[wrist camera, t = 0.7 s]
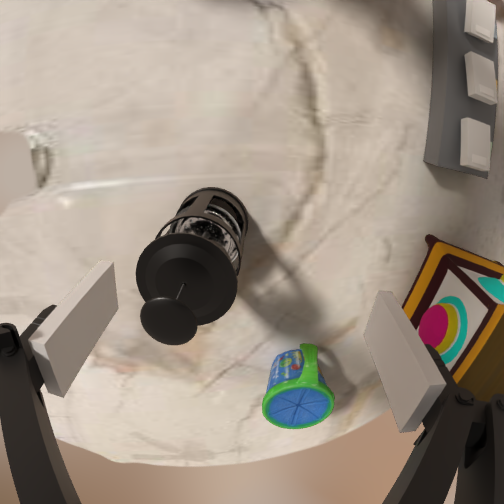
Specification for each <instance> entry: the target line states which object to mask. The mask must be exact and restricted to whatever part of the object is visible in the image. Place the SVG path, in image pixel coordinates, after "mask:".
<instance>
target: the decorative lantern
mask: <svg viewBox="0 0 504 504" xmlns="http://www.w3.org/2000/svg"><path fill="white" fill-rule="evenodd" d="M425 241H426V242H427V244H428V246H429V250H428V253H427V256H426V258H425V260H424V262H423V264H422V267H421V269H420V271H419V273H418V275H417V277H416V279H415V281H414V283H413V285H412V287H411V289H410V291H409V293H408V295H407V297H406V299H405V301H404V303H403V305H402V309H403V311H404V312H405V314H406V315H407V317H408V319H409V320H410V322H411V323H412V325H413V327H414V328H415V330H416V332H417V333H418V335H419V337H420V338H421V340H422V342H423V343H424V344H430V345H431V346H432V347H433V348H434V349H436V350H437V351H438V353H439V355H440V356H441V358H442V360H443V361H444V363H445V365H446V367H447V368H448V370H449V372H450V373H451V375H452V377H453V379H454V380H455V382H456V384H457V386H458V387H462V388H465V389H467V390H469V391H470V392H471V393H472V394H473V395H474V396H475V398H476V400H479V401H486V402H489V401H490V399H491V398H492V396H493V395H494V394H497V393H499V394H504V266H503V265H502V264H501V263H500V262H498V261H491V260H488V259H486V258H484V257H481V256H479V255H476V254H474V253H471V252H469V251H466V250H464V249H461V248H459V247H456V246H454V245H451V244H448V243H446V242H444V241H441V240H439V239H438V238H436V237H434V236H433V235H430V234H428V235H427V236H426V237H425Z"/></svg>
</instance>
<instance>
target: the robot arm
mask: <svg viewBox="0 0 504 504" xmlns="http://www.w3.org/2000/svg"><path fill="white" fill-rule="evenodd" d="M117 310H118V301H117V292H116V283H115V272H114V262H109V261H102V260H100V261H99V262H98V263H97V264H96V265H95V266H94V267H93V268H92V269H91V270H90V271H89V272H88V273H87V274H86V275H85V277H84V278H83V279H82V280H81V281H80V282H79V283H78V284H77V285H76V286H75V287H74V288H73V289H72V290H71V291H70V293H69V294H68V295H67V296H66V297H65V298H64V299H63V300H62V301H61V302H60V303H59V305H58V306H57V305H51V306H49V307H47V308H46V309H44V310H43V311H42V312H41V313H40V314H39V315H38V316H37V318H36V319H35V320H34V321H33V322H32V323H31V324H30V325H29V326H28V327H27V329H26V330H25V331H24V332H23V333H22V334H21V335H20V337H19V334H18V331H17V329H16V326H14V325H13V324H10V323H1V324H0V419H1V425H2V431H3V437H4V442H5V447H6V452H7V456H8V460H9V465H10V469H11V473H12V477H13V480H14V484H15V487H16V491H17V494H18V497H19V501H20V504H81V502H80V499H79V497H78V495H77V493H76V491H75V488H74V486H73V484H72V481H71V479H70V477H69V474H68V472H67V469H66V467H65V464H64V461H63V459H62V456H61V453H60V451H59V448H58V445H57V442H56V439H55V436H54V433H53V430H52V427H51V423H50V420H49V417H48V413H47V410H46V406H45V403H44V399H43V395H42V392H41V390H40V388H41V387H42V385H43V384H44V383H45V386H46V388H47V390H48V393H51V394H54V395H57V396H60V397H63V398H64V396H65V394H66V393H67V391H68V389H69V388H70V386H71V384H72V382H73V381H74V379H75V377H76V376H77V374H78V372H79V371H80V369H81V367H82V366H83V364H84V362H85V361H86V359H87V357H88V356H89V354H90V352H91V351H92V349H93V348H94V346H95V344H96V343H97V341H98V340H99V338H100V336H101V335H102V333H103V332H104V330H105V329H106V327H107V325H108V324H109V322H110V321H111V319H112V318H113V316H114V315H115V313H116V312H117ZM364 337H365V340H366V342H367V345H368V348H369V350H370V353H371V355H372V358H373V360H374V363H375V366H376V368H377V371H378V373H379V376H380V379H381V382H382V384H383V387H384V390H385V392H386V395H387V398H388V401H389V404H390V406H391V409H392V412H393V415H394V418H395V421H396V424H397V426H398V429H399V432H400V433H401V432H410V431H416V429H417V428H418V426H419V425H420V424H421V422H423V425H424V427H425V429H424V431H423V432H422V433H421V435H420V436H419V437H418V439H417V440H416V441H415V443H414V445H415V447H414V449H413V451H412V453H411V455H410V457H409V459H408V461H407V463H406V465H405V466H404V468H403V470H402V472H401V473H400V475H399V477H398V478H397V480H396V482H395V484H394V485H393V487H392V489H391V490H390V492H389V493H388V495H387V497H386V498H385V500H384V502H383V503H382V504H443V503H444V501H445V499H446V496H447V494H448V491H449V489H450V486H451V484H452V481H453V479H454V476H455V473H456V471H457V468H458V476H457V486H456V494H455V501H454V504H504V394H499V393H497V394H494V395H493V396H492V398H491V399H490V401H489V402H486V401H479V400H476V398H475V396H474V395H473V394H472V393H471V392H470V391H469V390H467V389H465V388H462V387H458V386H457V384H456V382H455V380H454V379H453V377H452V375H451V373H450V372H449V370H448V368H447V367H446V365H445V363H444V361H443V360H442V358H441V356H440V355H439V353H438V351H437V350H436V349H434V348H433V347H432V346H431V345H430V344H424V343H423V342H422V340H421V338H420V337H419V335H418V333H417V332H416V330H415V328H414V327H413V325H412V323H411V322H410V320H409V319H408V317H407V315H406V314H405V312H404V311H403V309H402V307H401V306H400V304H399V303H398V301H397V300H396V298H395V296H394V295H393V293H392V292H388V291H378V293H377V296H376V299H375V302H374V305H373V309H372V312H371V315H370V318H369V320H368V323H367V326H366V329H365V332H364Z"/></svg>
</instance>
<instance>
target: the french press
mask: <svg viewBox="0 0 504 504" xmlns="http://www.w3.org/2000/svg"><path fill="white" fill-rule="evenodd" d="M212 198H217V199H221V200H223V201H225V202H226V203H228V204H229V205H230V206H231V207H232V208H233V210H234V211H235V213H236V215H237V218H238V224H237V222H236V221H235V219H234V218H233V217H232V216H231V215H230V214H229V213H228V212H227V211H225V210H224V209H222V208H220V207H218V206H216V205H213V204H209V203H210V201H211V200H212ZM170 224H171V226H170V229H169V230H168V232H167V233H166V234H165V235H163V236H160V235H161V233H162V231H163V230H164V229H165V228H166V227H167V226H168V225H170ZM247 229H248V217H247V213H246V210H245V207H244V206H243V204H242V202H241V201H240V200H239V199H238V198H237V197H236V196H235V195H233V194H232V193H231V192H229V191H227V190H224V189H221V188H215V187H208V188H202V189H199V190H196V191H195V192H193V193H191V194H190V195H189V196H188V197H187V198H186V199H185V200H184V201H183V203H182V204H181V206H180V209H179V210H178V211H177V214H176V216H175V217H174V218H173V219H171V220H170V221H169V222H168V223H166V224H165V225H164V227H163V228H162V229H161V230H160V232H159V233H158V235H157V236H156V238H155V240H154V241H152V242H151V243H150V244H149V245H148V246H147V247H146V248H145V249H144V251H143V252H142V254H141V255H140V257H139V260H138V263H137V267H136V282H137V286H138V289H139V292H140V294H141V296H142V298H143V299H144V301H145V302H146V303H145V304H144V305H143V307H142V309H141V313H140V319H141V323H142V326H143V328H144V329H145V331H146V332H147V333H148V334H149V335H150V336H151V337H152V338H153V339H155V340H156V341H158V342H161V343H163V344H167V345H181V344H184V343H187V342H188V341H190V340H191V339H192V338H193V337H194V336H195V334H196V332H197V326H198V325H204V324H208V323H211V322H213V321H215V320H217V319H219V318H220V317H222V316H223V315H224V314H225V313H226V312H227V311H228V310H229V309H230V307H231V306H232V304H233V302H234V300H235V297H236V293H237V283H238V281H237V276H238V273H239V270H240V266H241V259H242V252H243V245H244V238H245V236H246V233H247ZM237 255H238V256H239V264H238V268H237V270H236V271H235V268H234V266H233V263H232V262H233V261H234V260H235V258H236V257H237Z"/></svg>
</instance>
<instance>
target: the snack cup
mask: <svg viewBox="0 0 504 504" xmlns="http://www.w3.org/2000/svg"><path fill="white" fill-rule="evenodd" d="M317 353H318V348H317V347H316V346H315V345H313V344H305V343H303V344H300V349H297V350H290V351H287V352H284V353H283V354H280V355H278V356H277V357H276V359H275V360H274V362H273V364H272V368H271V372H270V377H269V382H268V386H267V391H266V394H265V396H264V398H263V403H262V413H263V415H264V417H265V418H266V419H267V420H268V421H269V422H270V423H272V424H274V425H276V426H278V427H281V428H287V429H301V428H307V427H311V426H314V425H316V424H318V423H320V422H322V421H323V420H324V419H326V418H327V417H328V416H329V415H330V414H331V412H332V410H333V408H334V399H335V397H334V394H333V392H332V391H331V390H330V389H329V387H328V386H327V384H326V383H325V380H324V377H323V375H322V372H321V370H320V368H319V366H318V363H317Z"/></svg>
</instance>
